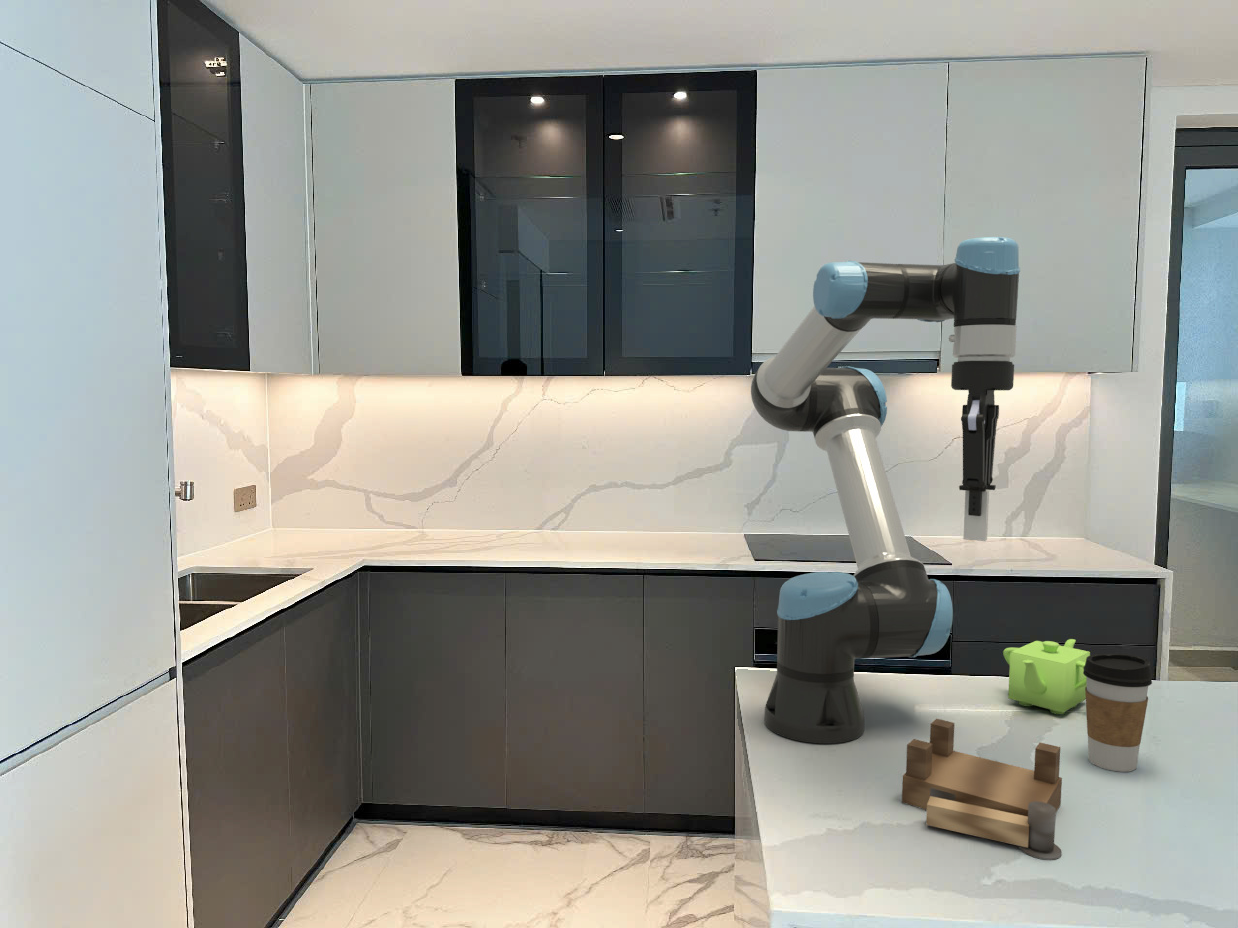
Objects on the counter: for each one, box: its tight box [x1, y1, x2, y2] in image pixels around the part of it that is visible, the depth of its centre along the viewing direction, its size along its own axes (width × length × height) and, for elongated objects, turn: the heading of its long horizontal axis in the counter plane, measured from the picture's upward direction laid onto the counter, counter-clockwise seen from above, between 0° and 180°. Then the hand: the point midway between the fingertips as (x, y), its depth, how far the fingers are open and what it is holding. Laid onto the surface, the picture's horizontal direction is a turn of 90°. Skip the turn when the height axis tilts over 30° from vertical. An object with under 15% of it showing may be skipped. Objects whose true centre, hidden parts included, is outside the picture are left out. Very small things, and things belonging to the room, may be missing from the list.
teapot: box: [1002, 638, 1091, 715], centre depth 147 cm, size 15×13×11 cm
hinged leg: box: [925, 796, 1057, 852], centre depth 103 cm, size 14×3×4 cm, turn 62°
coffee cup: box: [1083, 653, 1153, 773], centre depth 124 cm, size 8×8×15 cm
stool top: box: [901, 718, 1063, 861], centre depth 109 cm, size 19×16×8 cm
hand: (975, 539), depth 117 cm, fingers closed
